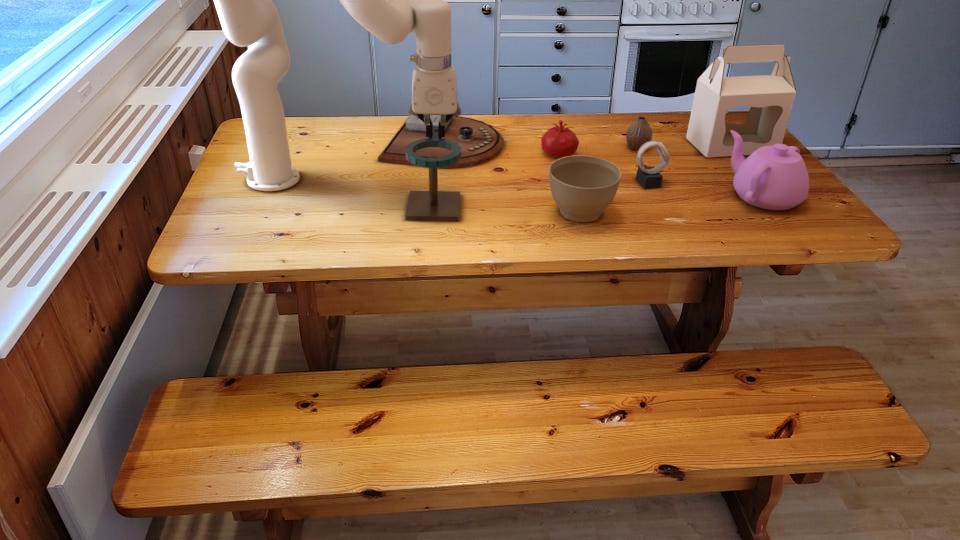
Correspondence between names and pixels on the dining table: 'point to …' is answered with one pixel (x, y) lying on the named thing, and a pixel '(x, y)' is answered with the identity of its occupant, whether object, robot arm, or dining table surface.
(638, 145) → the vase
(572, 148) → the pomegranate
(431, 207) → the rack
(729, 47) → the gable box
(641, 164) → the ring sculpture
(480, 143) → the control panel
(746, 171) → the teapot
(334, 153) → the dining table surface
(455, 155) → the ring
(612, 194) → the planter bowl
